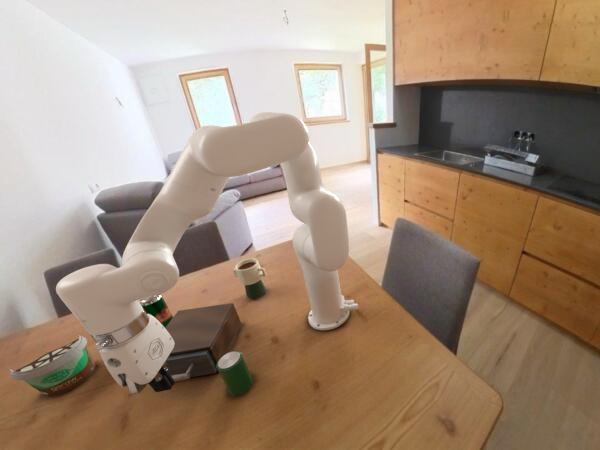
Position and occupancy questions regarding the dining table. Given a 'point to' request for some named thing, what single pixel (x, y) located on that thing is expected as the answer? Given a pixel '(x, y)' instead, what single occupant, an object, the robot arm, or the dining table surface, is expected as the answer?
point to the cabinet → (205, 330)
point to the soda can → (157, 309)
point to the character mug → (251, 277)
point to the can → (234, 373)
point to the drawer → (190, 365)
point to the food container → (58, 369)
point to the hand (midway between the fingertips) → (165, 387)
